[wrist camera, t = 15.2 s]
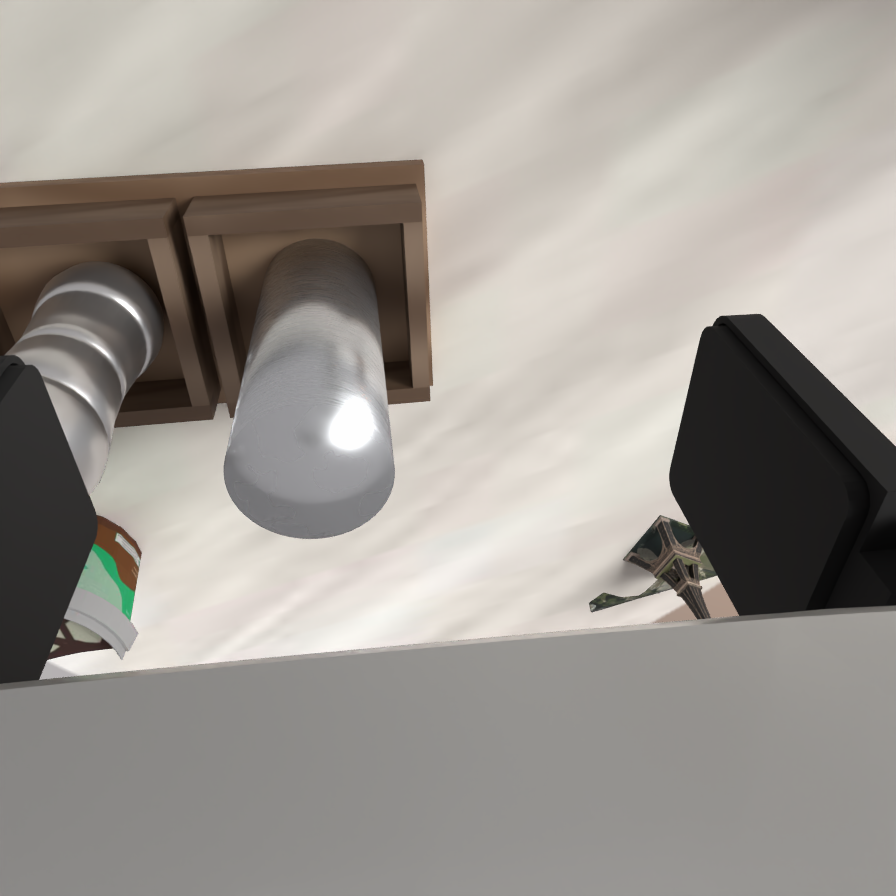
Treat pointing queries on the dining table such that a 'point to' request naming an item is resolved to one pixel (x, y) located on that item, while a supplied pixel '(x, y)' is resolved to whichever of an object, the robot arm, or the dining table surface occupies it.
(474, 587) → the dining table surface
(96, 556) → the food container
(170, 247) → the wooden compartment tray
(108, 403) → the plastic bottle
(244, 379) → the grey metal canister
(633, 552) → the eiffel tower figurine
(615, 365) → the dining table surface
